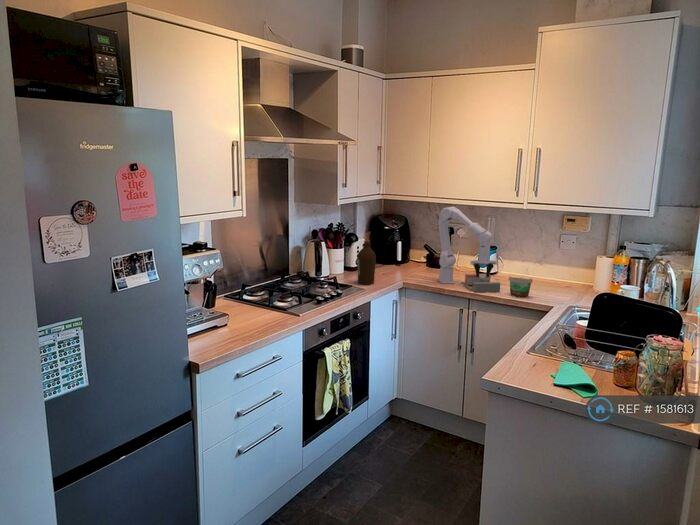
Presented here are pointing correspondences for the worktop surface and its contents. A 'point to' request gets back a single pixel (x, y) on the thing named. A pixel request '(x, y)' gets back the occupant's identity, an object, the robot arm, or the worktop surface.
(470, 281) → the clamp jaw
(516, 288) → the food container
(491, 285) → the vise
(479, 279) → the steel block
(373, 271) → the olive oil
